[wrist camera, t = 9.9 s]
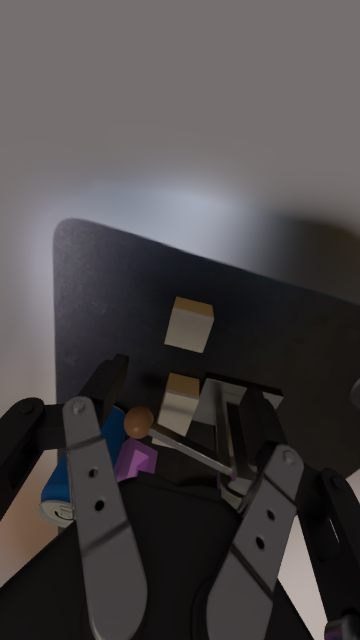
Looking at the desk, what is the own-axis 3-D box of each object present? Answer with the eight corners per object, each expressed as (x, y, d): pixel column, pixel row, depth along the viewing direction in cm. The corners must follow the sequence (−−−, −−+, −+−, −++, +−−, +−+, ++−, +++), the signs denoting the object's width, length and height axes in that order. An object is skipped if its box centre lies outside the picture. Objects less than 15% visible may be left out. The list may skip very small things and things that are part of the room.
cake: (156, 420, 31) (151, 443, 28) (169, 372, 27) (165, 392, 23) (181, 426, 31) (179, 449, 28) (199, 379, 27) (199, 400, 23)
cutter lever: (132, 413, 25) (116, 436, 22) (135, 395, 23) (119, 417, 20) (254, 474, 22) (254, 509, 19) (266, 457, 20) (268, 493, 17)
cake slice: (168, 327, 24) (164, 343, 20) (176, 296, 22) (172, 308, 19) (202, 335, 24) (202, 353, 21) (212, 305, 22) (214, 319, 19)
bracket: (130, 436, 33) (114, 486, 27) (157, 451, 34) (148, 502, 28) (95, 467, 39) (75, 515, 32) (120, 480, 40) (106, 528, 33)
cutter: (190, 412, 30) (186, 505, 20) (206, 371, 26) (210, 461, 16) (256, 428, 30) (283, 527, 20) (280, 390, 26) (327, 488, 17)
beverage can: (87, 422, 33) (32, 520, 22) (93, 395, 30) (33, 493, 19) (126, 433, 33) (90, 536, 22) (135, 408, 30) (99, 512, 19)
